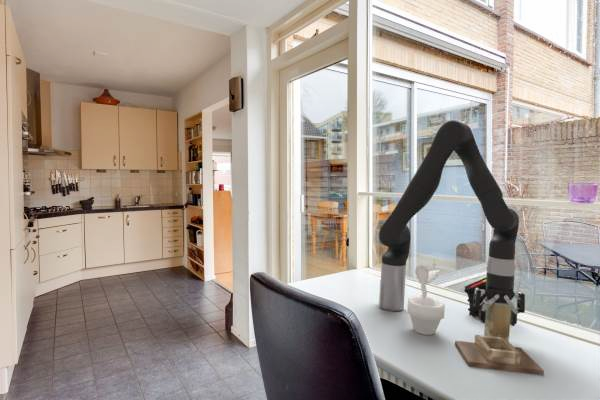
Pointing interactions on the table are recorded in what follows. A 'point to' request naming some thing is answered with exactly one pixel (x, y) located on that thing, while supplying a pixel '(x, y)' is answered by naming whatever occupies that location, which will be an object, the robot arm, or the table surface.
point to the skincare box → (498, 320)
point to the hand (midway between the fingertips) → (497, 323)
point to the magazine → (470, 292)
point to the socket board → (497, 355)
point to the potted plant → (425, 304)
